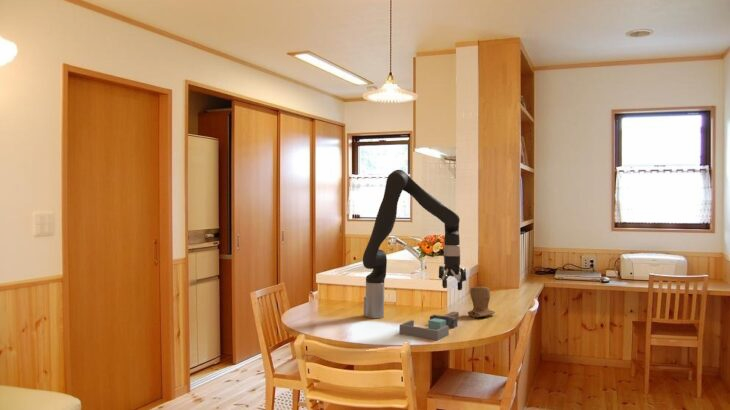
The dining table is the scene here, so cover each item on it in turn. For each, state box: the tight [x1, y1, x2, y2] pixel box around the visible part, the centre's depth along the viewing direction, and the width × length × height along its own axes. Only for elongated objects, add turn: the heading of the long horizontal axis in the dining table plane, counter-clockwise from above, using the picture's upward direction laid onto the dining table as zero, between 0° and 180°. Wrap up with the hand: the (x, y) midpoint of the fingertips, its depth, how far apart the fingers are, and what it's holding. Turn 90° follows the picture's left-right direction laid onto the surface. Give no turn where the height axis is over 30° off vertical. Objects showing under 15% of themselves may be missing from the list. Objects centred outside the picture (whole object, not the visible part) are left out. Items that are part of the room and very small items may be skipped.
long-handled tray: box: [429, 311, 459, 329], centre depth 273 cm, size 12×16×4 cm
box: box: [398, 319, 450, 341], centre depth 251 cm, size 18×11×4 cm, turn 58°
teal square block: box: [427, 318, 446, 330], centre depth 262 cm, size 6×6×4 cm
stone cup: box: [467, 286, 496, 318], centre depth 291 cm, size 15×12×15 cm
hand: (452, 289), depth 269 cm, fingers open, 8 cm apart
